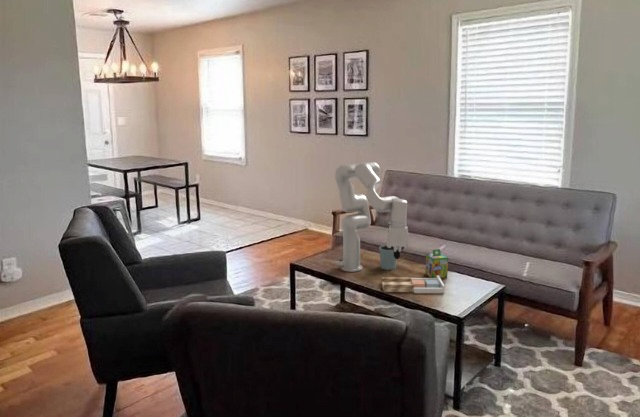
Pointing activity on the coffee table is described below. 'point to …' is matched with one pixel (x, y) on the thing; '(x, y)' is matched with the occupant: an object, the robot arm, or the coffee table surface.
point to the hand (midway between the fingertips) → (396, 258)
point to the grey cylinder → (387, 258)
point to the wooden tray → (397, 284)
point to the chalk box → (436, 265)
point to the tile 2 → (431, 284)
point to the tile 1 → (418, 283)
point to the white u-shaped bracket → (430, 290)
